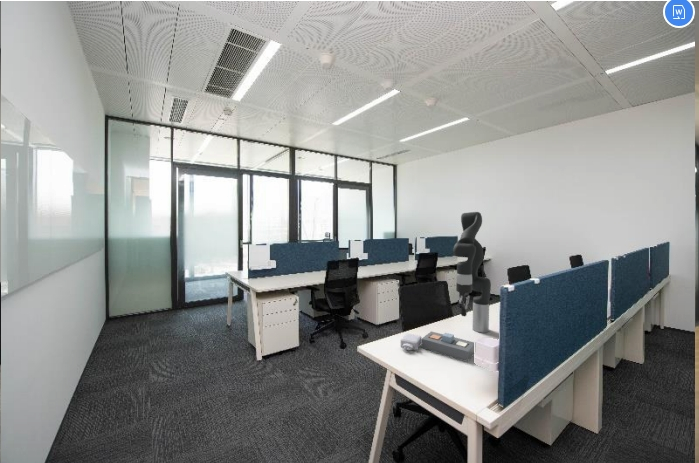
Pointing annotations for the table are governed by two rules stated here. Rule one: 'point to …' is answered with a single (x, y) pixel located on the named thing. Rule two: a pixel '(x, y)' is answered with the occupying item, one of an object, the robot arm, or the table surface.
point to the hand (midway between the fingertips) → (463, 315)
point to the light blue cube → (448, 338)
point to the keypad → (448, 347)
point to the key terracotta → (435, 337)
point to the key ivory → (462, 344)
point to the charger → (410, 342)
